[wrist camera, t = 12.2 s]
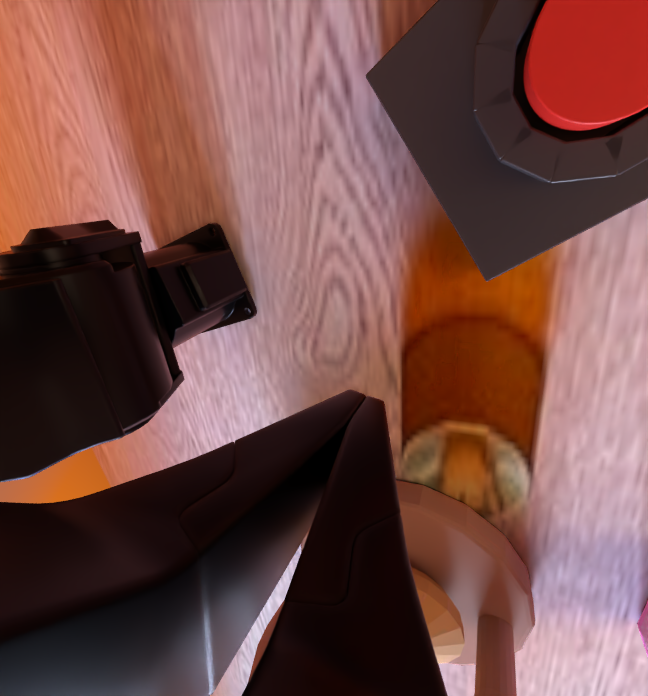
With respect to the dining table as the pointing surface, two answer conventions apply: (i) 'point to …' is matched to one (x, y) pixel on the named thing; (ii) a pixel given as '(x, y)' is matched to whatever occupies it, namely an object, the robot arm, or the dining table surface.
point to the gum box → (644, 627)
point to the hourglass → (462, 588)
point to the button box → (502, 136)
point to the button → (588, 62)
